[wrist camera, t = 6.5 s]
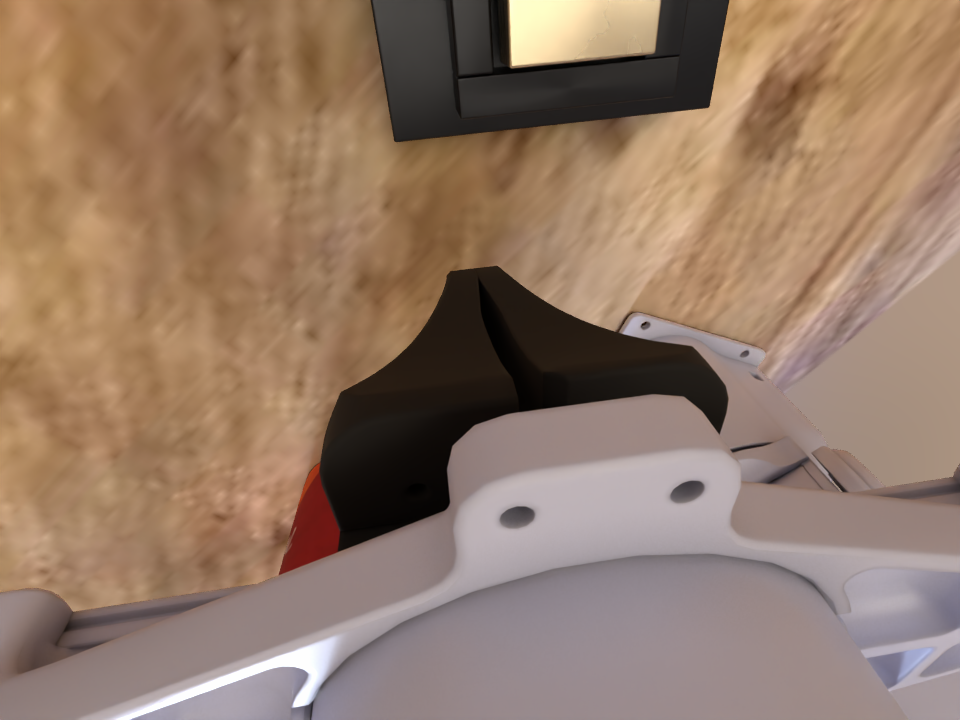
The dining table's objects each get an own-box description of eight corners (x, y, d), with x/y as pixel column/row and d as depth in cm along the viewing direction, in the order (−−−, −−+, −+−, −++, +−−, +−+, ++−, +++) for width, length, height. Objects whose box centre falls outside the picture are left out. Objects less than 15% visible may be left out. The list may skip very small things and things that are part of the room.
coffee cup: (257, 482, 30) (163, 797, 18) (360, 418, 28) (330, 725, 16) (350, 540, 35) (324, 822, 23) (444, 489, 33) (469, 768, 21)
